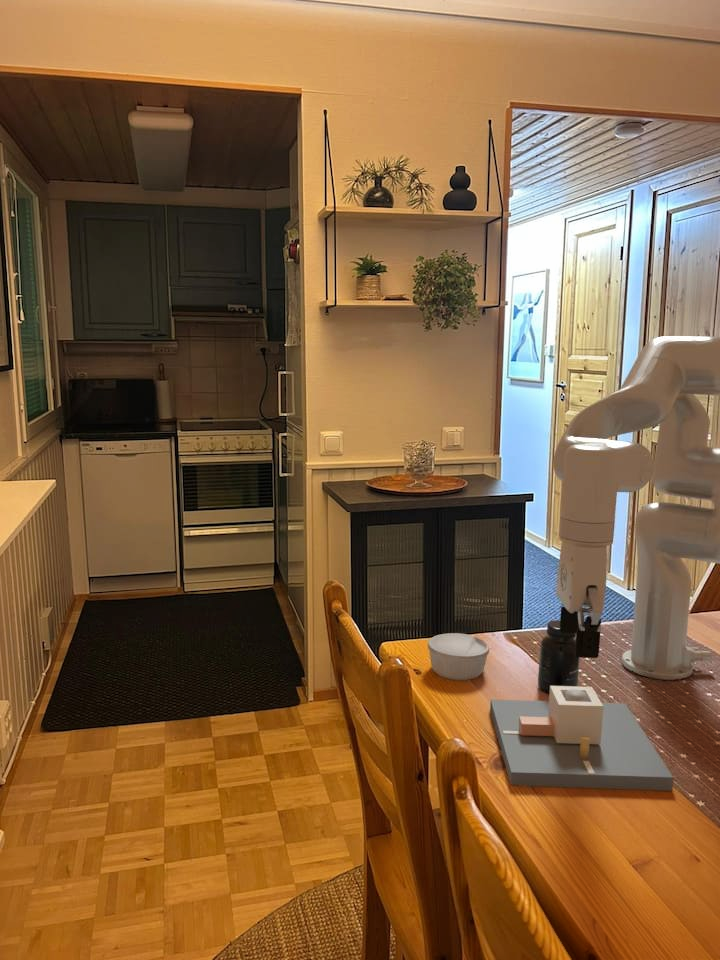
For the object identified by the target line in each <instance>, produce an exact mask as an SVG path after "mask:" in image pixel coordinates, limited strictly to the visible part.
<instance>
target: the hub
mask: <svg viewBox="0 0 720 960" xmlns="http://www.w3.org/2000/svg"><path fill="white" fill-rule="evenodd" d="M571 689H576V690H580V691H583V692H585V693H586V702H581V701H566V700H565V695H566V691H567V690H571ZM548 695H549V696H548V701H549V710H548V717H523V716H519V730H520V733H521V735H531V736H554V738H555V740H556V743H572V744H581V736H587V737H589V738H590V742H589V744H601V732H602V718H603V705H602V703H603V702H602V701H601V700H600V698H599V696H598V695H597V693H596V691H595V690H594V688H593V687H592V686H579V685H578V686H550V693H549V694H548Z"/></svg>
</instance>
